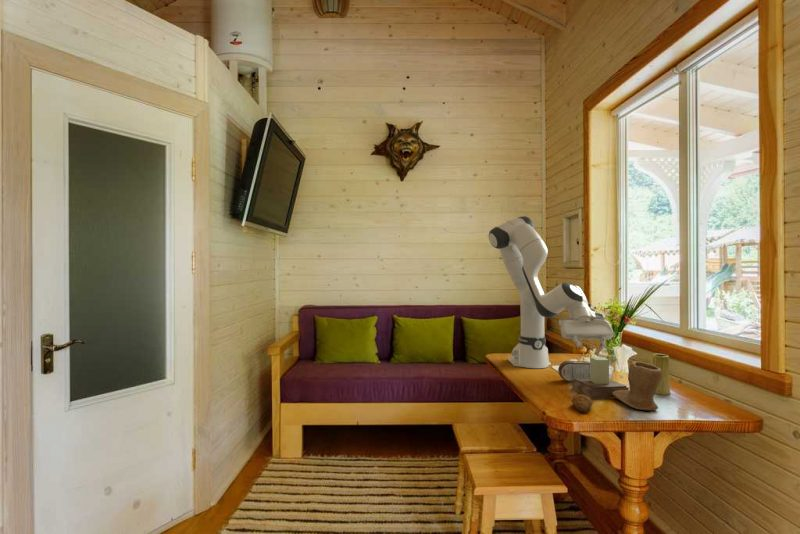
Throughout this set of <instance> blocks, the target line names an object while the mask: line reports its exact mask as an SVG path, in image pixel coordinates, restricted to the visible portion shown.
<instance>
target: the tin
mask: <svg viewBox="0 0 800 534" xmlns="http://www.w3.org/2000/svg"><path fill="white" fill-rule="evenodd" d="M557 372H558V375H559V377H561V379H563V380H564V381H565V382H569V383H570V382H571V383H572V380H574V378H590V361H587V360H586V361H580V360H565V361H563V362H561V363H560V364H559V366H558V369H557Z"/></svg>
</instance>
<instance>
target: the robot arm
mask: <svg viewBox="0 0 800 534" xmlns="http://www.w3.org/2000/svg"><path fill="white" fill-rule="evenodd" d="M488 232H489V233H488V240H489V243H490V244H491V246H492V247H494V248H495V249H497V250H499V253H500V256H501V258H502V259H501V260H502V261H503V264H504V266H505V269H506V271H507V272H508V275H509V276H510V279H511V281H512V282H513V285H514V286H515V288H516V291H517V293H518V294H519V296H520V299H519V301H520V302H519V303H520V306H519V307H520V309H519V310H520V335H519V337H518V343H517V344H516V346H514V347H513V349H512V350H511V357H508V358H507V361H509V363H510V364H512V366H514V367H519V368H520V367H521V368H526V369H545V368H549V366H551V365H552V363H551V362H550V360H549V349H548V347H547V346H546V342H547V341H546V340H547V339H546V336H545V318H548V319H553V318H555V317H556V316H557V315H558V314H560V313H561V312H563V311H564V310H566V309H567V310H568V316H569V317H568V318H564V317H562V318H560V319H558V326H559V327H560V334H561V336H562V338H563V339H566V340H567V339H568V340H570V339H571V341H572V342H573V343H574V344H576V347H577V348H582V346H583V343H582V341H580V340H600V341H601V342H600V344H599V346H600V348H603V349H605V348H607V344H606V340H611V339H612V338H613V337H614V333H615V332H614V330H613V328H612V327H613V326H611V324H610V322H609V321H608V320H606V318H607V317H606V315H605V314H604V313H600V312H597V311H594V310H592V309H591V308H590V306H589V302H588V299H587V297H586V295H585V293H584V291H583V289H581V287H580V286H578V285H575V284H573V283H569V282H562V283H560V284H559V285H556V286H555V287H554V288H553V289H551V290H550V291H548V292H547V293H545V292H544V290H543V288H542V285H541V282H540V281H539V278H538V277H539V276H538V275H539V272H540V270H541V268H542V266H543V265H544V264H545V262H546V260H547V257H548V252H549V249H548V247H547V244H546V243H545V242H544V240H543V238H542V236H540V234H539V233H538V232H537V231H536V230H535V226H534V223H533V220H532V219H531V218H530V217H528V216H526V215H523V216H518V217H517V218H512V219H510V220H507V221H506V222H503V223H502V224H500V225H498V226H494V227H493V228H492V229H490V230H489V231H488Z"/></svg>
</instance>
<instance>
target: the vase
mask: <svg viewBox="0 0 800 534" xmlns="http://www.w3.org/2000/svg"><path fill="white" fill-rule="evenodd" d="M652 365H653V366H656V367H658V368H660V369H661V371H662V377H661V381H660V383H659V385H658V387H657V389H656V391H655V393H654V394H657V395H662V396H663V395H664V396H667V395H671V389H670V388H671V385H670V356H669V355H668V354H665V353H664V354H663V353H654V354H652Z"/></svg>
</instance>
